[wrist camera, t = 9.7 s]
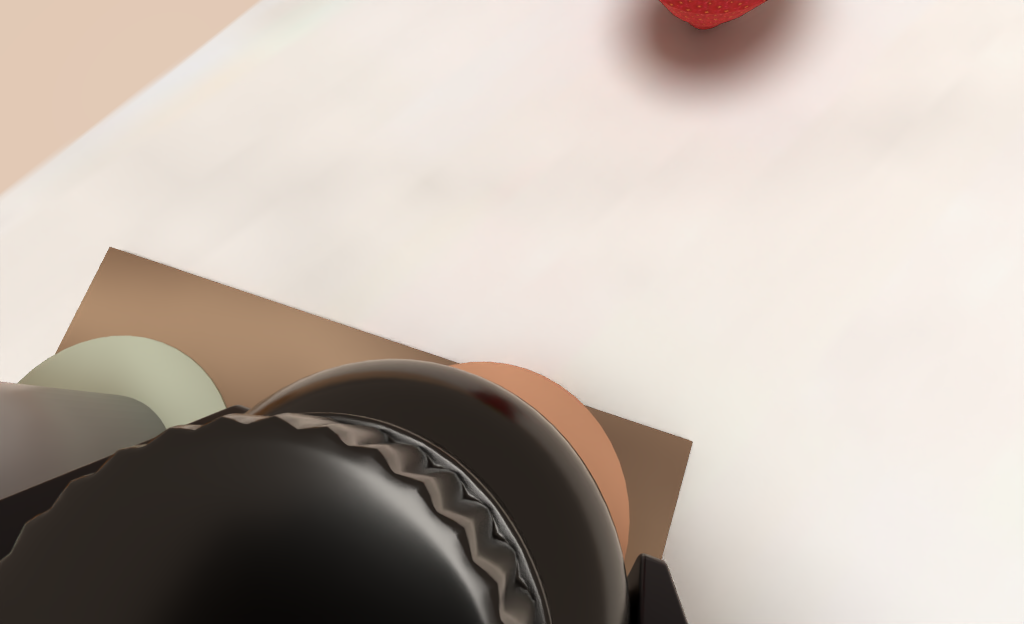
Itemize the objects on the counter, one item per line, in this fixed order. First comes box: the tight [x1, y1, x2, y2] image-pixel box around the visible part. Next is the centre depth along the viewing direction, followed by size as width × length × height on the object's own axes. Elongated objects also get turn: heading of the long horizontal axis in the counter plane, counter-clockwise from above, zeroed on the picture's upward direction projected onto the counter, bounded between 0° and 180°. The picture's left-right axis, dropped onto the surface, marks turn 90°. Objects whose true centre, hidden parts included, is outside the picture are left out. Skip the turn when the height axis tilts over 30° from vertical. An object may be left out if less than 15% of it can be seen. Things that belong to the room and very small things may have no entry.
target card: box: [17, 247, 693, 576], centre depth 18 cm, size 12×22×1 cm, turn 71°
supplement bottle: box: [0, 359, 631, 624], centre depth 10 cm, size 7×7×12 cm
